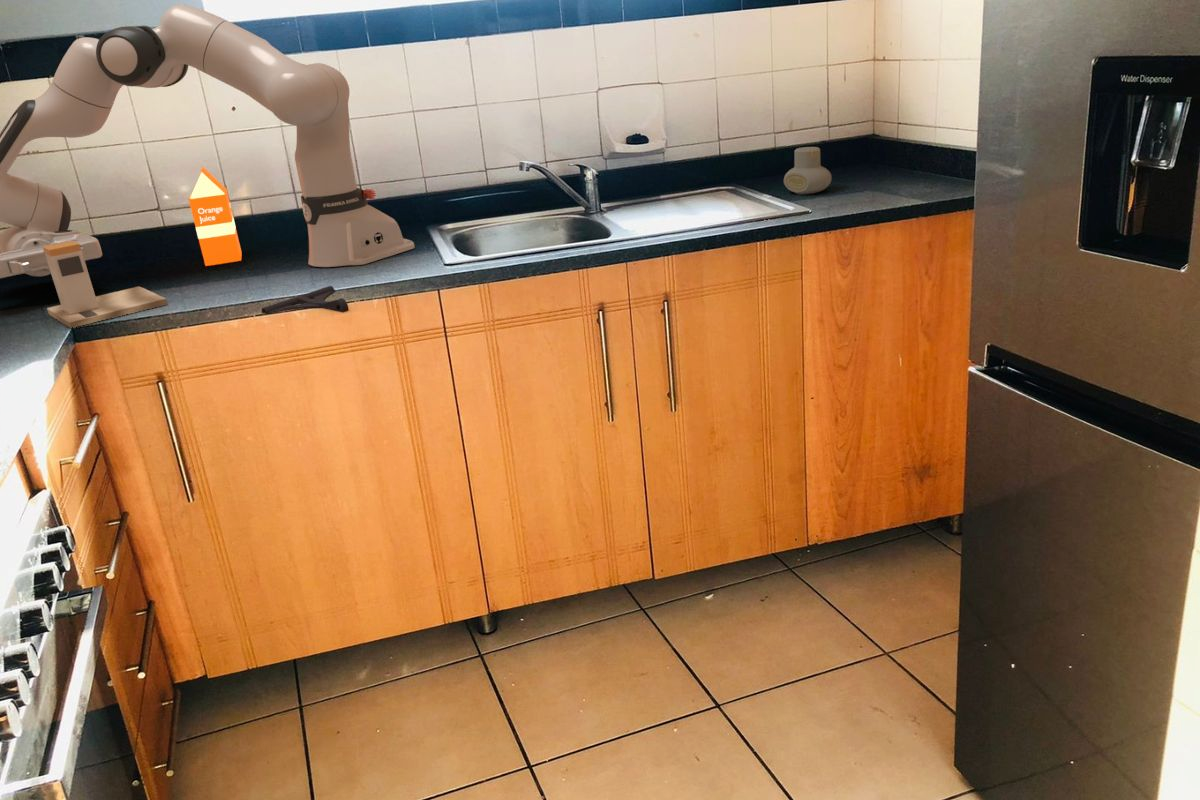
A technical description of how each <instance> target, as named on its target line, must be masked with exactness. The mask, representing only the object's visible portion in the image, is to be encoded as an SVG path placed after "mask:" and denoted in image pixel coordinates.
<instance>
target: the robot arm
mask: <svg viewBox="0 0 1200 800" xmlns="http://www.w3.org/2000/svg"><path fill="white" fill-rule="evenodd" d="M189 66H190V67H191V68H194V69H196V70H198V71H200V72H202V73H204V74H206V75H208V76H210V77H212V78H214V79H216V80H217V81H220V82H222V83H223V84H226V85H228V86H230V87H232V88H234V89H236V90H238V91H240V92H242V93H244V94H245V95H246V96H249V97H250V98H251V99H253V100H254V101H255V102H257V103H258V104H259V105H261V106H262V107H264V108H265V109H266V110H268V111H269V112H271V113H272V114H273V115H274V116H275V117H276V118H277V119H278V120H280V121H281V122H283V123H285V124H288V125H291V126H295V127H296V145H295V147H296V148H295V152H294V160H295V161H294V162H295V167H296V171H297V176H298V181H299V185H300V190H301V196H300V200H301V207H302V208H301V209H302V212H303V213H302V214H303V217H304V220H305V223H306V225H307V233H308V262H307V263H308V265H309V266H312V267H319V268H331V267H332V268H333V267H334V268H335V267H343V266H344V267H345V266H361V265H367V264H369V263H373V262H376V261H379V260H381V259H386V258H388V257H392V256H394V255H395V256H396V255H397V254H401V253H404V252H407V251H410V250H413V249H415V242H413V240H410V239H407V238H404V237H403V235H402V234H403V233H402V231H401V229H400V226H399V224H398V222H397V221H396V219H394V218H393V217H391V216H389V215H388V214H386V213H384V212H382V211H381V210H379V209H377V208H375V207H374V206H371V205H370V204H368V200H373V199H375V198H376V194H377V193H376V191H375V190H374V189H369V188H366V189H365V190H364V189H362V188H359V187H357V181H356V175H355V170H354V166H353V164H354V163H353V160H352V153H351V146H350V144H351V143H350V114H349V113H350V112H349V99H350V86H349V83H348V81H347V79H346V77H345V75H343V74H342V73H341V72H340V71H339V70H338V69H336V68H334V67H332V66H330V65H329V64H325V63H321V62H320V63H319V62H315V63H310V64H309V63H308V64H305V63H300V62H298V61H296V60H295V59H292V58H291V57H289V56H287V55H286V54H284V53H282V52H281V51H280V50H278V49H277V48H276V47H274V46H273V45H271V43H270V42H269V41H268V40H267V39H264V38H262V37H260V36H258V35H257V34H254V33H252V32H250V31H249V30H246V29H244V28H242V27H241V26H239V25H236V24H235V23H233V22H231V21H229V20H227V19H224V18H223V17H221V16H218V15H216V14H214V13H212V12H209V11H206V10H202V9H200V8H197V7H195V6H191V5H187V4H181V3H179V4H175V5H173V6H171V7H169V8H167V10H165V12H164V13H163V15H162V16H161V19H160V22H159V23H158V25H157V26H156V27H155V28H154V27H153V28H151V27H150V26H147V25H135V26H133V25H132V26H119V27H116V28H113V29H110V30H109V31H106V32H105V33H104V34H103V35H102V36H101V37H100V38H95V37H85V36H84V37H80V38H77V39H75V40H74V41H73V42H72V44H71V45H70V46H69V47H68V49H67V50H66V52H65V54H64V55H63V57H62V59H61V61H60V63H59V65H58V67H57V69H56V71H55V73H54V75H53V78H52V80H51V83H50V85H49V86H48V88H47V89H46V90H45V91H44V93H42V94H41V95H39V96H38V97H36V98H34V99H26V100H24V101H23V102H22V103H20V104H19V106H18V107H17V108H16V109H15V111H14V112H13V113H12V115H11V117H10V118H9V119H8V121H7V122H6V124H5V125H4V126H3V128H2V130H1V131H0V223H3V224H7V225H12V226H10V227H8V228H6V229H5V230H3V232H1V235H0V279H4V278H7V277H12V276H16V275H22V274H25V275H29V276H31V277H45V276H49V275H51V272H50V268H49V265H48V262H47V259H46V256H45V253H44V250H43V247H44V246H49V245H54V244H59V243H64V242H69V241H74V242H76V243H78V244H80V247H81V251H82V254H83V257H84V260H85V262H86V261H89V260H95V259H99V258H101V257H102V256H103V252H102V251H103V250H102V247H101V244H100V242H99V239H98V238H96V237H94V236H92V235H89V234H86V233H80V231H79V230H78V229H69V227H70V224H71V219H72V209H71V205H70V203H69V201H68V199H67V197H66V195H65V193H64V192H63V191H62V190H59V189H57V188H53V187H50V186H47V185H44V184H40V183H39V182H38V183H37V182H33V181H30V180H26V179H23V178H21V177H17V176H14V175H11V174H9V173H8V171H9V170H10V168H11V167H12V166H13V164H14V162H15V161H16V159H17V158H18V156H19V154H20V153H21V152H22V150H23V149H24V147H25V146H26V145H28V143H29V142H32V141H34V140H36V139H42V138H71V139H74V138H84V137H86V136H90V135H93V134H95V133H97V132H99V131H100V130H101V129H102V128H103V126H104V125H105V123H106V122H107V119H108V117H110V116H109V115H110V113H111V112H112V108H113V106H114V103H115V100H116V98H117V96H118V93H119V92H120V89H121V88H122V87H123V86H126V87H136V88H144V89H155V88H164V87H165V88H166V87H167V88H168V87H171V86H174V85H176V84H177V83H179V82H181V81H182V80H183V79H184V78H185V76H186V74H187V73H188V69H189Z"/></svg>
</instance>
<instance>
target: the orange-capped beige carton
mask: <svg viewBox="0 0 1200 800" xmlns="http://www.w3.org/2000/svg"><path fill="white" fill-rule="evenodd" d="M43 250H44V253H45V256H46V259H47V262H48V265H49V268H50V272H51V274H50V275H51V277H52V278H51V279H52V281H53V284H54V286H55V289H56V290H55V291H56V293H57V296H58V299H59V303H60V305H61V306H62V309H63V311H65V312H66V313H68V314H70V315H71V314H75V313H79V312H83V311H87V310H91V309H95V308H99V307H98V303H97V300H96V294H95V291H94V288H93V284H92V281H91V278H90V274H89V272H88V271H89V270H88V268H87V263H86V261H85V260H84V257H83V254H82V251H81V247H80V244H78V243H76V242H74V241H69V242H64V243H59V244H54V245H49V246H44V247H43Z"/></svg>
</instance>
